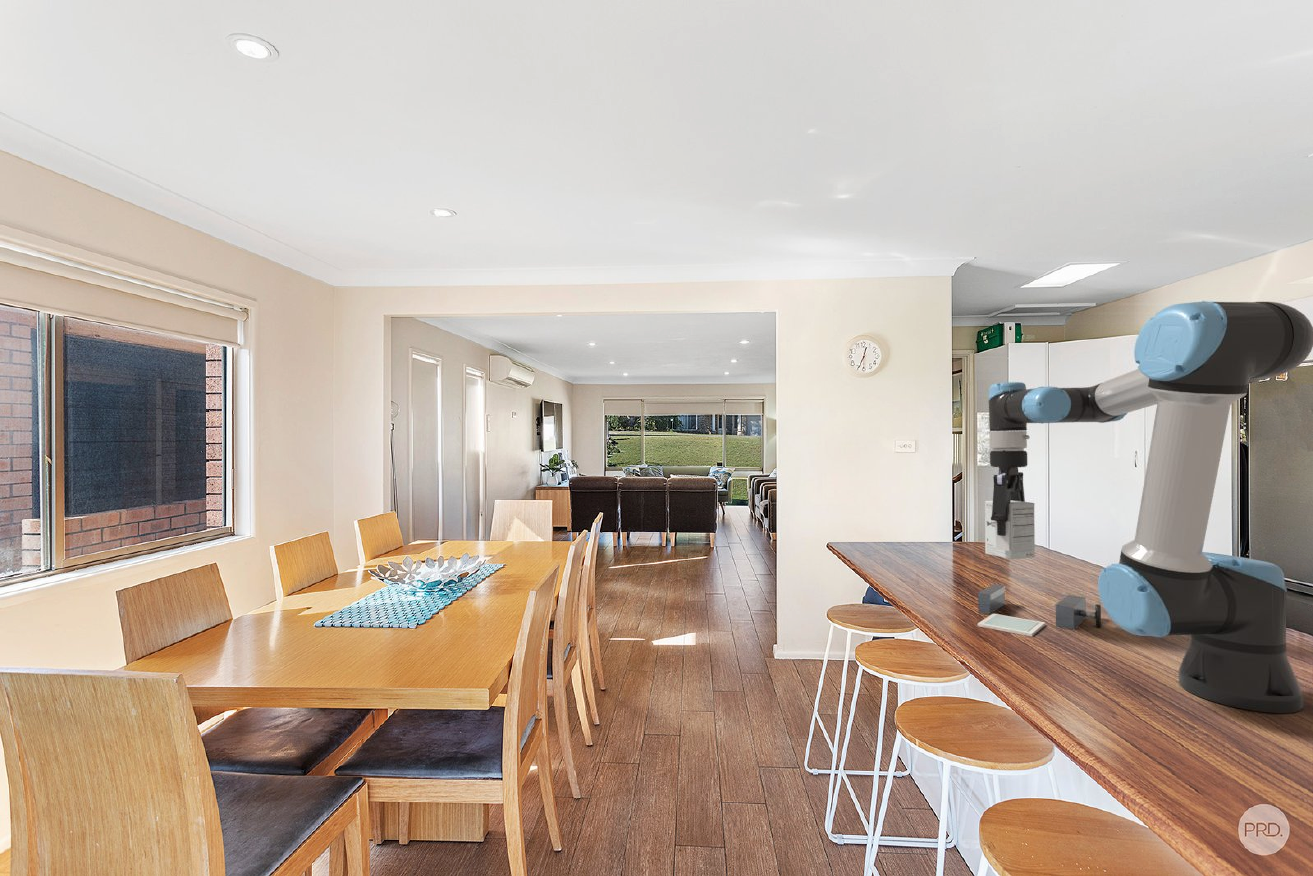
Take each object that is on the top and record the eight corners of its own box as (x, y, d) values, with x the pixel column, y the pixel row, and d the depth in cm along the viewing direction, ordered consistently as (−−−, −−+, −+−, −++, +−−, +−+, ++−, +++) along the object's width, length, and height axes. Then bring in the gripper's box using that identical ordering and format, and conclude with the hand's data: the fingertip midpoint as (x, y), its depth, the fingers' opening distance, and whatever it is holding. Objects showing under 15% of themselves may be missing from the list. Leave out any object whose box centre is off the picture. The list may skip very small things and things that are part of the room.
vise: (1095, 633, 135) (1095, 610, 135) (978, 612, 152) (978, 592, 152) (1106, 621, 143) (1105, 600, 143) (994, 603, 161) (993, 584, 161)
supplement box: (984, 554, 144) (983, 500, 144) (1008, 552, 146) (1007, 499, 146) (1011, 560, 137) (1010, 503, 137) (1036, 557, 139) (1035, 502, 139)
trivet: (1031, 636, 134) (1031, 633, 134) (977, 626, 142) (977, 623, 142) (1045, 625, 141) (1045, 622, 141) (993, 616, 149) (993, 613, 149)
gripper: (1011, 451, 131) (1013, 555, 131) (1039, 448, 147) (1041, 542, 147) (974, 451, 137) (975, 551, 137) (1005, 448, 152) (1006, 539, 152)
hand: (1009, 546), depth 142 cm, fingers closed on supplement box, 9 cm apart
